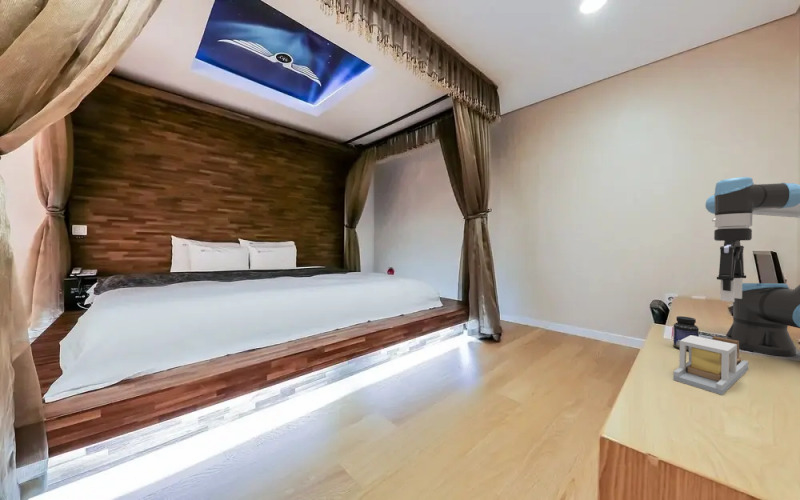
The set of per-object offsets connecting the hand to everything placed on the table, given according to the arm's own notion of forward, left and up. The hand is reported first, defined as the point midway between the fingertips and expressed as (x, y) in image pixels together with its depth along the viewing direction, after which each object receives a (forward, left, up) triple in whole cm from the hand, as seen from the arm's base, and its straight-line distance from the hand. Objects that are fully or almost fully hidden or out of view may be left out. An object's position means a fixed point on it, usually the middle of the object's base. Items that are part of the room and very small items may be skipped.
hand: (731, 299), depth 87 cm
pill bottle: (+3, -10, -20) cm, 22 cm away
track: (+18, +6, -19) cm, 27 cm away
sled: (+15, +5, -18) cm, 24 cm away
